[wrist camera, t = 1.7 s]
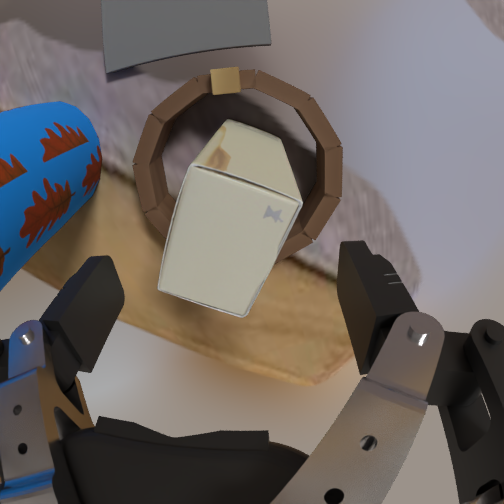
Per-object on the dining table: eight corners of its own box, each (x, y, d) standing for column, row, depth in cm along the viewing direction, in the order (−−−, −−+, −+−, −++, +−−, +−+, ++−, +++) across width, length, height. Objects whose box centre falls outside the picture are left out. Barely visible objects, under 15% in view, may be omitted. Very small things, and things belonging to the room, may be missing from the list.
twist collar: (168, 254, 26) (156, 280, 23) (136, 88, 18) (114, 89, 15) (329, 244, 25) (339, 269, 22) (329, 68, 18) (343, 64, 14)
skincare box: (226, 116, 20) (189, 150, 9) (282, 137, 21) (310, 194, 10) (198, 194, 23) (151, 293, 12) (251, 212, 24) (246, 322, 13)
